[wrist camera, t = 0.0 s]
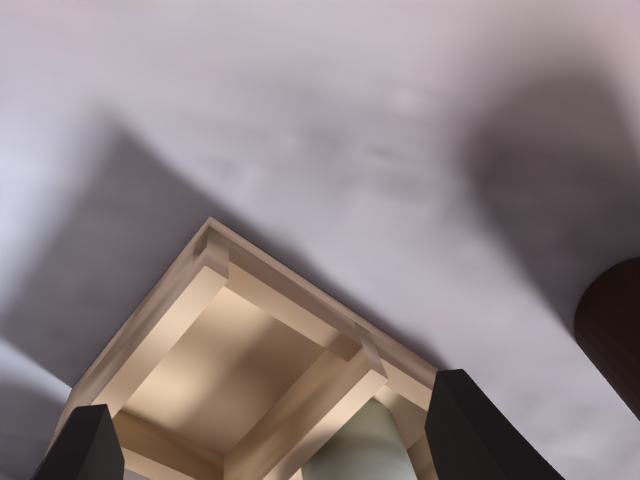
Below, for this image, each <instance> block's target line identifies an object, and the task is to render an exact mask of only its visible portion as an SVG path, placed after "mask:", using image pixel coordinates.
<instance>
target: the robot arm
mask: <svg viewBox="0 0 640 480" xmlns="http://www.w3.org/2000/svg"><path fill="white" fill-rule="evenodd" d="M424 429H425V433H426V437H427V441H428V445H429V449H430V453H431V456H432V460H433V463H434V467H435V471H436V474H437V476H438V479H439V480H565V479H564V478H563V477H562V476H561V475H560V474H559V473H558V472H557V471H556V470H555V469H554V468H553V467H552V466H551V465H550V464H549V463H548V462H547V461H546V460H545V459H544V458H543V457H542V456H541V455H540V454H539V453H538V452H537V451H536V450H535V449H534V448H533V447H532V446H531V444H530V443H529V442H528V441H527V440H526V439H525V438H524V437H523V436H522V435H521V434H520V433H519V432H518V431H517V430H516V429H515V427H514V426H513V425H512V424H511V423H510V422H509V421H508V420H507V419H506V418H505V416H504V415H503V414H502V413H501V412H500V411H499V410H498V409H497V407H496V406H495V405H494V404H493V403H492V402H491V401H490V399H489V398H488V397H487V396H486V395H485V394H484V393H483V391H482V390H481V389H480V388H479V387H478V386H477V384H476V383H475V382H474V381H473V380H472V379H471V377H470V376H469V375H468V374H467V373H466V372H465V371H464V370H463V369H456V370H446V371H437V373H436V377H435V382H434V386H433V390H432V395H431V399H430V404H429V408H428V413H427V417H426V421H425V426H424ZM124 466H125V460H124V456H123V453H122V450H121V447H120V444H119V440H118V437H117V434H116V431H115V428H114V424H113V421H112V418H111V415H110V412H109V408H108V405H107V404H98V405H88V406H78V407H76V408H75V409H73V410H72V412H71V414H70V415H69V417H68V419H67V421H66V422H65V424H64V426H63V428H62V429H61V431H60V433H59V434H58V436H57V438H56V439H55V441H54V443H53V445H52V446H51V448H50V449H49V451H48V453H47V454H46V456H45V458H44V459H43V461H42V462H41V464H40V466H39V467H38V469H37V470H36V472H35V474H34V475H33V477H32V478H31V480H123V477H124Z"/></svg>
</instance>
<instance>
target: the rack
mask: <svg viewBox="0 0 640 480" xmlns="http://www.w3.org/2000/svg"><path fill="white" fill-rule="evenodd" d="M437 371H440V370H439V369H437V368H436V367H434V366H433V365H432V364H430V363H429V362H427V361H426V360H424V359H423V358H421V357H420V356H419V355H417V354H416V353H414V352H413V351H411V350H410V349H408V348H407V347H405V346H404V345H402V344H401V343H399V342H398V341H396V340H395V339H393V338H392V337H390V336H389V335H387V334H386V333H384V332H383V331H381V330H380V329H378V328H377V327H375V326H374V325H372V324H371V323H369V322H368V321H366V320H365V319H363V318H362V317H360V316H359V315H357V314H356V313H355V312H353V311H352V310H350V309H349V308H347V307H346V306H344V305H343V304H341V303H340V302H338V301H337V300H335V299H334V298H332V297H331V296H329V295H328V294H326V293H325V292H323V291H322V290H320V289H319V288H317V287H316V286H314V285H313V284H311V283H310V282H308V281H307V280H305V279H304V278H302V277H301V276H299V275H298V274H296V273H295V272H293V271H292V270H290V269H289V268H287V267H286V266H284V265H283V264H281V263H280V262H278V261H277V260H275V259H274V258H272V257H271V256H269V255H268V254H266V253H265V252H263V251H262V250H260V249H259V248H257V247H256V246H254V245H253V244H251V243H250V242H248V241H247V240H245V239H244V238H242V237H241V236H239V235H238V234H236V233H235V232H233V231H232V230H230V229H229V228H227V227H226V226H224V225H223V224H221V223H220V222H218V221H217V220H215V219H214V218H212V217H211V216H210V217H209V218H208V219H207V220H206V222H205V223H204V224H203V225H202V227H201V228H200V229H199V230H198V232H197V233H196V234H195V235H194V237H193V238H192V239H191V240H190V242H189V243H188V244H187V246H186V247H185V248H184V249H183V251H182V252H181V253H180V254H179V256H178V257H177V258H176V259H175V261H174V262H173V263H172V264H171V266H170V267H169V268H168V269H167V271H166V272H165V273H164V274H163V276H162V277H161V278H160V279H159V281H158V282H157V283H156V284H155V286H154V287H153V288H152V289H151V291H150V292H149V293H148V294H147V296H146V297H145V298H144V299H143V301H142V302H141V303H140V304H139V306H138V307H137V308H136V309H135V311H134V312H133V313H132V314H131V316H130V317H129V318H128V320H127V321H126V322H125V323H124V325H123V326H122V327H121V328H120V330H119V331H118V332H117V333H116V335H115V336H114V337H113V338H112V340H111V341H110V342H109V343H108V345H107V346H106V347H105V348H104V350H103V351H102V352H101V353H100V355H99V356H98V357H97V358H96V360H95V361H94V362H93V363H92V365H91V366H90V367H89V368H88V370H87V371H86V372H85V373H84V375H83V376H82V377H81V378H80V380H79V381H78V382H77V383H76V385H75V386H74V387H73V389H72V390H71V393H70V395H69V398H68V400H67V402H66V405H65V407H64V410H63V412H62V415H61V417H60V420H59V422H58V424H57V427H56V429H55V432H54V434H53V437H52V439H51V442H50V444H49V446H48V449H47V451H46V454H47V453H48V451H49V449H50V448H51V446H52V445H53V443H54V441H55V439H56V438H57V436H58V434H59V433H60V431H61V429H62V428H63V426H64V424H65V422H66V421H67V419H68V417H69V415H70V414H71V412H72V410H73V409H75V408H76V407H78V406H88V405H98V404H107V405H108V408H109V412H110V415H111V418H112V421H113V424H114V428H115V431H116V434H117V437H118V440H119V444H120V447H121V450H122V453H123V456H124V460H125V466H124V468H126V469H128V470H131V471H133V472H135V473H138V474H140V475H143V476H145V477H147V478H150V479H152V480H439V479H438V476H437V474H436V471H435V467H434V463H433V460H432V456H431V453H430V449H429V445H428V441H427V437H426V433H425V429H424V426H425V421H426V417H427V413H428V408H429V404H430V399H431V395H432V390H433V386H434V382H435V377H436V373H437ZM46 454H45V456H46ZM45 456H44V458H45Z"/></svg>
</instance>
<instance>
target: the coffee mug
mask: <svg viewBox="0 0 640 480" xmlns="http://www.w3.org/2000/svg"><path fill="white" fill-rule="evenodd" d="M574 329H575V337H576V339H577V342H578V345H579V346H580V348H581V349H582V350H583V352H584V353H585V354H586V355H587V357H588V358H589V359H590V360H591V362H592V363H593V364H594V365H595V367H596V368H597V369H598V370H599V371H600V373H601V374H602V375H603V376H604V378H605V379H606V380H607V381H608V383H609V384H610V385H611V386H612V387H613V389H614V390H615V391H616V392H617V394H618V395H619V396H620V397H621V399H622V400H623V401H624V402H625V404H626V405H627V406H628V407H629V408H630V410H631V411H632V412H633V413H634V415H635V416H636V417H637V418H638V420H639V421H640V258H634V259H631V260H628V261H625V262H622V263H620V264H618V265H616V266H614V267H613V268H611V269H609V270H608V271H607V272H605V273H604V274H603V275H601V276H600V277H599V278H598V279H597V280H596V281H595V282H594V283H593V284H592V285H591V286H590V288H589V289H588V290H587V292H586V293H585V295H584V296H583V298H582V300H581V302H580V304H579V306H578V309H577V312H576V316H575V324H574Z"/></svg>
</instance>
